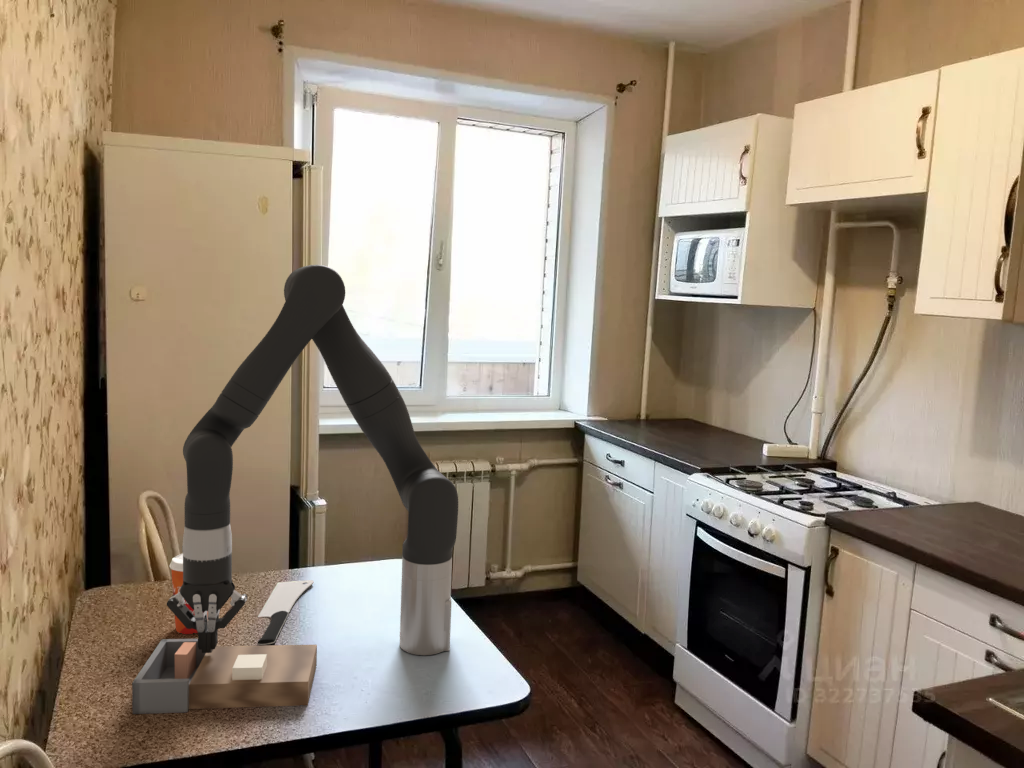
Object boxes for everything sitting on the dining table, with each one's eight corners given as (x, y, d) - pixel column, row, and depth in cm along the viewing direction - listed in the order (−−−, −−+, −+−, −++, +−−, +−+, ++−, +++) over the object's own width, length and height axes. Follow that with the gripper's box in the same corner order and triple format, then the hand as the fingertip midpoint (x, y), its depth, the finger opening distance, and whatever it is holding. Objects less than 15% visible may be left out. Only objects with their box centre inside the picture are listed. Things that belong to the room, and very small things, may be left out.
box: (210, 665, 135) (210, 638, 135) (187, 712, 121) (187, 681, 120) (162, 667, 134) (161, 639, 134) (132, 713, 120) (132, 683, 119)
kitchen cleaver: (269, 579, 174) (314, 576, 175) (270, 587, 174) (315, 583, 175) (225, 643, 143) (280, 638, 144) (226, 652, 143) (281, 647, 144)
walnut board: (316, 666, 137) (316, 644, 137) (307, 705, 124) (308, 681, 124) (209, 668, 134) (209, 646, 134) (189, 708, 122) (189, 684, 121)
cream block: (266, 665, 128) (266, 654, 128) (261, 679, 124) (262, 667, 124) (238, 666, 128) (238, 654, 127) (232, 680, 123) (232, 668, 123)
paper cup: (160, 633, 147) (160, 561, 145) (187, 617, 154) (186, 548, 153) (197, 639, 145) (197, 566, 143) (222, 623, 152) (222, 553, 151)
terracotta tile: (196, 642, 133) (184, 642, 133) (186, 654, 129) (174, 654, 129) (196, 667, 134) (184, 667, 134) (187, 680, 129) (174, 680, 129)
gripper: (253, 543, 133) (252, 640, 135) (172, 543, 131) (172, 641, 133) (244, 558, 126) (244, 660, 128) (158, 558, 124) (159, 662, 126)
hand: (207, 650), depth 131 cm, fingers closed
